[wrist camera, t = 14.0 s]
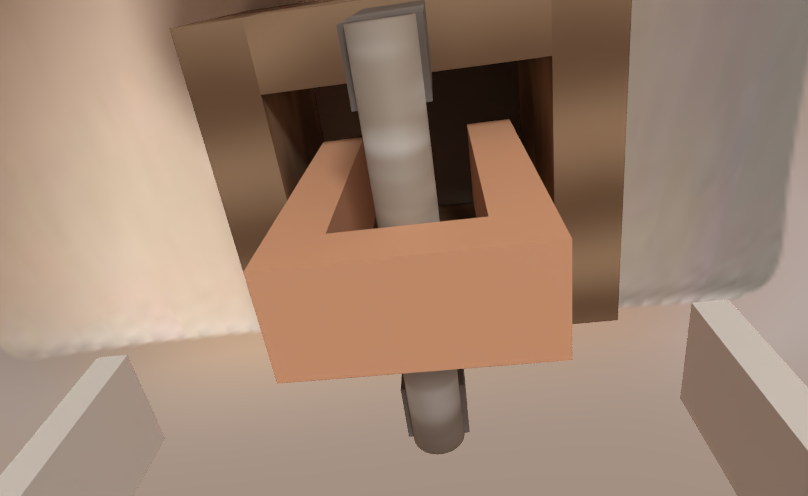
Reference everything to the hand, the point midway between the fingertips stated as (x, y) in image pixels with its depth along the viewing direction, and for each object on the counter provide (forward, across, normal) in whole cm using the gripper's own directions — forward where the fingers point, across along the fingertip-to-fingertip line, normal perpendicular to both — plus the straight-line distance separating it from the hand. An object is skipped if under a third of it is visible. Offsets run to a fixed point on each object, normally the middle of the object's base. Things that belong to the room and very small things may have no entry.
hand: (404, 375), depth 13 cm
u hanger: (+16, 0, 0) cm, 16 cm away
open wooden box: (+23, 0, 0) cm, 23 cm away
